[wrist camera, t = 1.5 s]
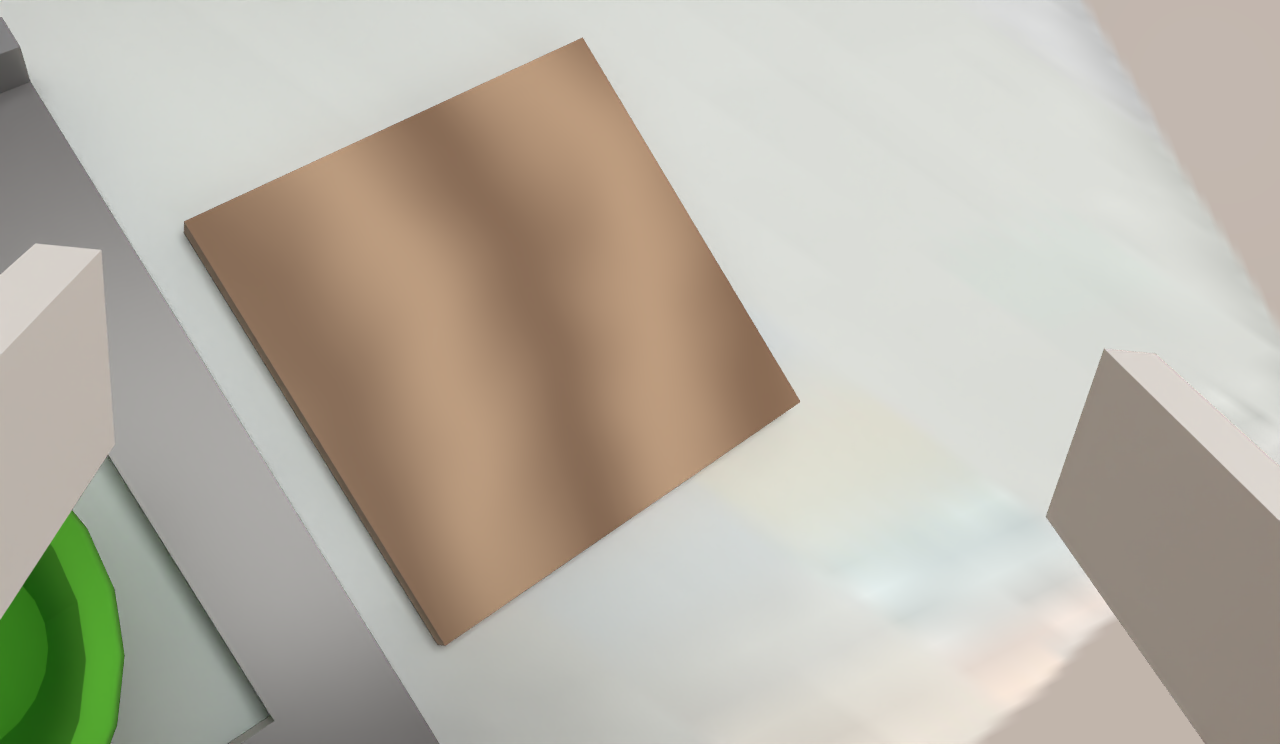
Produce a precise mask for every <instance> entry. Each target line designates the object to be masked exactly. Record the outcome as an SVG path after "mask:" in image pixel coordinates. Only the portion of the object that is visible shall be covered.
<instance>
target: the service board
mask: <svg viewBox="0 0 1280 744" xmlns="http://www.w3.org/2000/svg"><path fill="white" fill-rule="evenodd" d="M184 233H185V235H186V237H187V238H188V240H189V242H190V243H191V245H192V246H193V248H194V250H195V251H196V253H197V255H198V256H199V258H200V259H201V261H202V263H203V264H204V266H205V268H206V269H207V271H208V272H209V274H210V276H211V277H212V279H213V281H214V282H215V284H216V285H217V287H218V289H219V290H220V292H221V294H222V295H223V297H224V298H225V300H226V302H227V303H228V305H229V307H230V308H231V310H232V311H233V313H234V315H235V316H236V318H237V320H238V321H239V323H240V324H241V326H242V328H243V329H244V331H245V333H246V334H247V336H248V337H249V339H250V341H251V342H252V344H253V346H254V347H255V349H256V350H257V352H258V354H259V355H260V357H261V359H262V360H263V362H264V363H265V365H266V367H267V368H268V370H269V371H270V373H271V375H272V376H273V378H274V380H275V381H276V383H277V384H278V386H279V388H280V389H281V391H282V393H283V394H284V396H285V397H286V399H287V401H288V402H289V404H290V406H291V407H292V409H293V410H294V412H295V414H296V415H297V417H298V419H299V420H300V422H301V423H302V425H303V427H304V428H305V430H306V432H307V433H308V435H309V436H310V438H311V440H312V441H313V443H314V445H315V446H316V448H317V449H318V451H319V453H320V454H321V456H322V458H323V459H324V461H325V462H326V464H327V466H328V467H329V469H330V471H331V472H332V474H333V475H334V477H335V479H336V480H337V482H338V484H339V485H340V487H341V488H342V490H343V492H344V493H345V495H346V497H347V498H348V500H349V501H350V503H351V505H352V506H353V508H354V510H355V511H356V513H357V514H358V516H359V518H360V519H361V521H362V523H363V524H364V526H365V527H366V529H367V531H368V532H369V534H370V536H371V537H372V539H373V540H374V542H375V544H376V545H377V547H378V549H379V550H380V552H381V553H382V555H383V557H384V558H385V560H386V562H387V563H388V565H389V566H390V568H391V570H392V571H393V573H394V575H395V576H396V578H397V579H398V581H399V583H400V584H401V586H402V587H403V589H404V591H405V592H406V594H407V596H408V597H409V599H410V600H411V602H412V604H413V605H414V607H415V609H416V610H417V612H418V613H419V615H420V617H421V618H422V620H423V622H424V623H425V625H426V626H427V628H428V630H429V631H430V633H431V635H432V636H433V638H434V639H435V641H436V643H437V644H438V645H444V646H445V645H447V644H448V643H450V642H451V641H453V640H454V639H456V638H457V637H459V636H460V635H462V634H463V633H464V632H466V631H467V630H469V629H470V628H472V627H473V626H475V625H476V624H478V623H479V622H480V621H482V620H483V619H485V618H486V617H488V616H489V615H491V614H492V613H494V612H495V611H496V610H498V609H499V608H501V607H502V606H504V605H505V604H507V603H508V602H510V601H511V600H513V599H514V598H515V597H517V596H518V595H520V594H521V593H523V592H524V591H526V590H527V589H529V588H530V587H531V586H533V585H534V584H536V583H537V582H539V581H540V580H542V579H543V578H545V577H546V576H547V575H549V574H550V573H552V572H553V571H555V570H556V569H558V568H559V567H561V566H562V565H564V564H565V563H566V562H568V561H569V560H571V559H572V558H574V557H575V556H577V555H578V554H580V553H581V552H582V551H584V550H585V549H587V548H588V547H590V546H591V545H593V544H594V543H596V542H597V541H598V540H600V539H601V538H603V537H604V536H606V535H607V534H609V533H610V532H612V531H613V530H614V529H616V528H617V527H619V526H620V525H622V524H623V523H625V522H626V521H628V520H629V519H631V518H632V517H633V516H635V515H636V514H638V513H639V512H641V511H642V510H644V509H645V508H647V507H648V506H649V505H651V504H652V503H654V502H655V501H657V500H658V499H660V498H661V497H663V496H664V495H665V494H667V493H668V492H670V491H671V490H673V489H674V488H676V487H677V486H679V485H680V484H682V483H683V482H684V481H686V480H687V479H689V478H690V477H692V476H693V475H695V474H696V473H698V472H699V471H700V470H702V469H703V468H705V467H706V466H708V465H709V464H711V463H712V462H714V461H715V460H716V459H718V458H719V457H721V456H722V455H724V454H725V453H727V452H728V451H730V450H731V449H732V448H734V447H735V446H737V445H738V444H740V443H741V442H743V441H744V440H746V439H747V438H749V437H750V436H751V435H753V434H754V433H756V432H757V431H759V430H760V429H762V428H763V427H765V426H766V425H767V424H769V423H770V422H772V421H773V420H775V419H776V418H778V417H779V416H781V415H782V414H783V413H785V412H786V411H788V410H789V409H791V408H792V407H794V406H795V405H797V404H798V403H800V400H799V398H798V397H797V395H796V393H795V392H794V390H793V388H792V387H791V385H790V383H789V382H788V380H787V378H786V377H785V375H784V373H783V372H782V370H781V368H780V367H779V365H778V363H777V362H776V360H775V358H774V357H773V355H772V353H771V352H770V350H769V348H768V347H767V345H766V343H765V342H764V340H763V338H762V337H761V335H760V333H759V332H758V330H757V328H756V327H755V325H754V323H753V322H752V320H751V318H750V317H749V315H748V313H747V312H746V310H745V308H744V306H743V305H742V303H741V301H740V300H739V298H738V296H737V295H736V293H735V291H734V290H733V288H732V286H731V285H730V283H729V281H728V280H727V278H726V276H725V275H724V273H723V271H722V270H721V268H720V266H719V265H718V263H717V261H716V260H715V258H714V256H713V255H712V253H711V251H710V250H709V248H708V246H707V245H706V243H705V241H704V240H703V238H702V236H701V235H700V233H699V231H698V230H697V228H696V226H695V225H694V223H693V221H692V220H691V218H690V216H689V215H688V213H687V211H686V210H685V208H684V206H683V205H682V203H681V201H680V200H679V198H678V196H677V194H676V193H675V191H674V189H673V188H672V186H671V184H670V183H669V181H668V179H667V178H666V176H665V174H664V173H663V171H662V169H661V168H660V166H659V164H658V163H657V161H656V159H655V158H654V156H653V154H652V153H651V151H650V149H649V148H648V146H647V144H646V143H645V141H644V139H643V138H642V136H641V134H640V133H639V131H638V129H637V128H636V126H635V124H634V123H633V121H632V119H631V118H630V116H629V114H628V113H627V111H626V109H625V108H624V106H623V104H622V103H621V101H620V99H619V98H618V96H617V94H616V93H615V91H614V89H613V88H612V86H611V84H610V82H609V81H608V79H607V77H606V76H605V74H604V72H603V71H602V69H601V67H600V66H599V64H598V62H597V61H596V59H595V57H594V56H593V54H592V52H591V51H590V49H589V47H588V46H587V44H586V42H585V41H584V39H583V38H581V39H579V40H576V41H574V42H572V43H570V44H568V45H566V46H563V47H561V48H559V49H557V50H555V51H553V52H550V53H548V54H546V55H544V56H542V57H540V58H537V59H535V60H533V61H531V62H529V63H527V64H524V65H522V66H520V67H518V68H516V69H514V70H511V71H509V72H507V73H505V74H503V75H501V76H498V77H496V78H494V79H492V80H490V81H488V82H485V83H483V84H481V85H479V86H477V87H475V88H472V89H470V90H468V91H466V92H464V93H462V94H459V95H457V96H455V97H453V98H451V99H449V100H446V101H444V102H442V103H440V104H438V105H436V106H433V107H431V108H429V109H427V110H425V111H423V112H420V113H418V114H416V115H414V116H412V117H410V118H407V119H405V120H403V121H401V122H399V123H397V124H394V125H392V126H390V127H388V128H386V129H384V130H381V131H379V132H377V133H375V134H373V135H371V136H368V137H366V138H364V139H362V140H360V141H358V142H355V143H353V144H351V145H349V146H347V147H345V148H342V149H340V150H338V151H336V152H334V153H332V154H329V155H327V156H325V157H323V158H321V159H319V160H316V161H314V162H312V163H310V164H308V165H306V166H303V167H301V168H299V169H297V170H295V171H293V172H290V173H288V174H286V175H284V176H282V177H280V178H277V179H275V180H273V181H271V182H269V183H267V184H264V185H262V186H260V187H258V188H256V189H254V190H251V191H249V192H247V193H245V194H243V195H241V196H238V197H236V198H234V199H232V200H230V201H228V202H225V203H223V204H221V205H219V206H217V207H215V208H212V209H210V210H208V211H206V212H204V213H202V214H199V215H197V216H195V217H193V218H191V219H189V220H186V221H184Z"/></svg>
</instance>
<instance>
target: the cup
mask: <svg viewBox="0 0 1280 744" xmlns="http://www.w3.org/2000/svg"><path fill="white" fill-rule="evenodd" d="M124 656H125V655H124V649H123V642H122V635H121V629H120V622H119V616H118V609H117V603H116V596H115V590H114V587H113V585H112V583H111V581H110V578H109V576H108V574H107V572H106V569H105V567H104V565H103V563H102V560H101V558H100V556H99V554H98V552H97V549H96V547H95V545H94V543H93V540H92V538H91V536H90V534H89V531H88V529H87V528H86V527H85V526H84V524H83V523H82V522H81V521H80V519H79V518H78V517H77V516H76V515H75V513H74V512H73V511H71V512H70V514H69V515H68V517H67V518H66V520H65V521H64V523H63V524H62V526H61V527H60V529H59V531H58V532H57V534H56V535H55V537H54V538H53V540H52V541H51V543H50V544H49V546H48V547H47V549H46V550H45V552H44V553H43V555H42V557H41V558H40V560H39V561H38V563H37V564H36V566H35V567H34V569H33V570H32V572H31V573H30V575H29V576H28V578H27V579H26V581H25V583H24V584H23V586H22V587H21V589H20V590H19V592H18V593H17V595H16V596H15V598H14V599H13V601H12V602H11V604H10V606H9V607H8V609H7V610H6V612H5V613H4V615H3V616H2V618H1V619H0V744H110V743H111V740H112V737H113V735H114V732H115V729H116V726H117V721H118V712H119V703H120V693H121V684H122V675H123V665H124Z"/></svg>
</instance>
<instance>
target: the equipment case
mask: <svg viewBox="0 0 1280 744" xmlns="http://www.w3.org/2000/svg"><path fill="white" fill-rule="evenodd" d="M35 243H37V244H47V245H57V246H67V247H77V248H87V249H98V250H101V251H102V265H103V280H104V295H105V309H106V324H107V338H108V353H109V368H110V382H111V397H112V411H113V426H114V441H115V445H114V446H113V448H112V449H111V451H110V452H109V454H108V456H109V458H110V459H111V461H112V462H113V464H114V466H115V467H116V469H117V470H118V472H119V474H120V475H121V477H122V478H123V480H124V482H125V483H126V485H127V486H128V488H129V490H130V491H131V493H132V494H133V496H134V498H135V499H136V501H137V502H138V504H139V506H140V507H141V509H142V510H143V512H144V514H145V515H146V517H147V519H148V520H149V522H150V523H151V525H152V527H153V528H154V530H155V531H156V533H157V535H158V536H159V538H160V539H161V541H162V543H163V544H164V546H165V547H166V549H167V551H168V552H169V554H170V555H171V557H172V559H173V560H174V562H175V563H176V565H177V567H178V568H179V570H180V571H181V573H182V575H183V576H184V578H185V580H186V581H187V583H188V584H189V586H190V588H191V589H192V591H193V592H194V594H195V596H196V597H197V599H198V600H199V602H200V604H201V605H202V607H203V608H204V610H205V612H206V613H207V615H208V616H209V618H210V620H211V621H212V623H213V624H214V626H215V628H216V629H217V631H218V632H219V634H220V636H221V637H222V639H223V641H224V642H225V644H226V645H227V647H228V649H229V650H230V652H231V653H232V655H233V657H234V658H235V660H236V661H237V663H238V665H239V666H240V668H241V669H242V671H243V673H244V674H245V676H246V677H247V679H248V681H249V682H250V684H251V685H252V687H253V689H254V690H255V692H256V693H257V695H258V697H259V698H260V700H261V701H262V703H263V705H264V706H265V708H266V710H267V711H268V713H269V714H270V716H269V717H267V718H266V719H264V720H263V721H261V722H260V723H258V724H257V725H255V726H254V727H252V728H251V729H249V730H248V731H246V732H245V733H243V734H242V735H240V736H239V737H237V738H236V739H234V740H233V741H231V742H230V743H228V744H439V742H438V741H437V739H436V738H435V736H434V734H433V733H432V731H431V729H430V728H429V726H428V725H427V723H426V721H425V720H424V718H423V717H422V715H421V713H420V712H419V710H418V708H417V707H416V705H415V704H414V702H413V700H412V699H411V697H410V695H409V694H408V692H407V691H406V689H405V687H404V686H403V684H402V683H401V681H400V679H399V678H398V676H397V674H396V673H395V671H394V670H393V668H392V666H391V665H390V663H389V661H388V660H387V658H386V657H385V655H384V653H383V652H382V650H381V649H380V647H379V645H378V644H377V642H376V640H375V639H374V637H373V636H372V634H371V632H370V631H369V629H368V627H367V626H366V624H365V623H364V621H363V619H362V618H361V616H360V615H359V613H358V611H357V610H356V608H355V606H354V605H353V603H352V602H351V600H350V598H349V597H348V595H347V593H346V592H345V590H344V589H343V587H342V585H341V584H340V582H339V581H338V579H337V577H336V576H335V574H334V572H333V571H332V569H331V568H330V566H329V564H328V563H327V561H326V559H325V558H324V556H323V555H322V553H321V551H320V550H319V548H318V547H317V545H316V543H315V542H314V540H313V538H312V537H311V535H310V534H309V532H308V530H307V529H306V527H305V526H304V524H303V522H302V521H301V519H300V517H299V516H298V514H297V513H296V511H295V509H294V508H293V506H292V504H291V503H290V501H289V500H288V498H287V496H286V495H285V493H284V492H283V490H282V488H281V487H280V485H279V483H278V482H277V480H276V479H275V477H274V475H273V474H272V472H271V470H270V469H269V467H268V466H267V464H266V462H265V461H264V459H263V458H262V456H261V454H260V453H259V451H258V449H257V448H256V446H255V445H254V443H253V441H252V440H251V438H250V436H249V435H248V433H247V432H246V430H245V428H244V427H243V425H242V424H241V422H240V420H239V419H238V417H237V415H236V414H235V412H234V411H233V409H232V407H231V406H230V404H229V402H228V401H227V399H226V398H225V396H224V394H223V393H222V391H221V390H220V388H219V386H218V385H217V383H216V381H215V380H214V378H213V377H212V375H211V373H210V372H209V370H208V368H207V367H206V365H205V364H204V362H203V360H202V359H201V357H200V356H199V354H198V352H197V351H196V349H195V347H194V346H193V344H192V343H191V341H190V339H189V338H188V336H187V335H186V333H185V331H184V330H183V328H182V326H181V325H180V323H179V322H178V320H177V318H176V317H175V315H174V313H173V312H172V310H171V309H170V307H169V305H168V304H167V302H166V301H165V299H164V297H163V296H162V294H161V292H160V291H159V289H158V288H157V286H156V284H155V283H154V281H153V279H152V278H151V276H150V275H149V273H148V271H147V270H146V268H145V267H144V265H143V263H142V262H141V260H140V258H139V257H138V255H137V254H136V252H135V250H134V249H133V247H132V245H131V244H130V242H129V241H128V239H127V237H126V236H125V234H124V233H123V231H122V229H121V228H120V226H119V224H118V223H117V221H116V220H115V218H114V216H113V215H112V213H111V211H110V210H109V208H108V207H107V205H106V203H105V202H104V200H103V199H102V197H101V195H100V194H99V192H98V190H97V189H96V187H95V186H94V184H93V182H92V181H91V179H90V177H89V176H88V174H87V173H86V171H85V169H84V168H83V166H82V165H81V163H80V161H79V160H78V158H77V156H76V155H75V153H74V152H73V150H72V148H71V147H70V145H69V144H68V142H67V140H66V139H65V137H64V135H63V134H62V132H61V131H60V129H59V127H58V126H57V124H56V122H55V121H54V119H53V118H52V116H51V114H50V113H49V111H48V110H47V108H46V106H45V105H44V103H43V101H42V100H41V98H40V97H39V95H38V93H37V92H36V90H35V88H34V87H33V85H32V84H31V82H30V79H29V75H28V72H27V69H26V65H25V62H24V58H23V55H22V52H21V48H20V46H19V44H18V43H17V41H16V39H15V38H14V36H13V34H12V33H11V31H10V30H9V28H8V26H7V25H6V23H5V21H4V20H3V18H2V17H0V274H2V273H3V272H4V271H5V270H6V269H7V268H8V267H9V266H11V265H12V264H13V263H14V262H15V261H16V260H17V259H18V258H20V257H21V256H22V255H23V254H24V253H25V252H26V251H27V250H29V249H30V248H31V247H32V246H33V245H34V244H35Z"/></svg>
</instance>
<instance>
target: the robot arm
mask: <svg viewBox="0 0 1280 744" xmlns="http://www.w3.org/2000/svg"><path fill="white" fill-rule="evenodd" d="M114 445H115V441H114V426H113V411H112V397H111V382H110V368H109V353H108V338H107V324H106V309H105V295H104V280H103V265H102V251H101V250H98V249H87V248H77V247H67V246H57V245H47V244H37V243H35V244H34V245H33V246H32V247H31V248H30V249H29V250H27V251H26V252H25V253H24V254H23V255H22V256H21V257H20V258H18V259H17V260H16V261H15V262H14V263H13V264H12V265H11V266H9V267H8V268H7V269H6V270H5V271H4V272H3V273H2V274H0V619H1V618H2V616H3V615H4V613H5V612H6V610H7V609H8V607H9V606H10V604H11V602H12V601H13V599H14V598H15V596H16V595H17V593H18V592H19V590H20V589H21V587H22V586H23V584H24V583H25V581H26V579H27V578H28V576H29V575H30V573H31V572H32V570H33V569H34V567H35V566H36V564H37V563H38V561H39V560H40V558H41V557H42V555H43V553H44V552H45V550H46V549H47V547H48V546H49V544H50V543H51V541H52V540H53V538H54V537H55V535H56V534H57V532H58V531H59V529H60V527H61V526H62V524H63V523H64V521H65V520H66V518H67V517H68V515H69V514H70V512H71V511H72V509H73V508H74V506H75V504H76V503H77V501H78V500H79V498H80V497H81V495H82V494H83V492H84V491H85V489H86V488H87V486H88V485H89V483H90V482H91V480H92V478H93V477H94V475H95V474H96V472H97V471H98V469H99V468H100V466H101V465H102V463H103V462H104V460H105V459H106V457H107V455H108V454H109V452H110V451H111V449H112V448H113V446H114ZM1046 518H1047V519H1048V520H1049V522H1050V523H1051V525H1052V526H1053V528H1054V529H1055V530H1056V532H1057V533H1058V535H1059V536H1060V538H1061V539H1062V540H1063V542H1064V543H1065V545H1066V546H1067V548H1068V549H1069V550H1070V552H1071V553H1072V555H1073V556H1074V558H1075V559H1076V560H1077V562H1078V563H1079V565H1080V566H1081V568H1082V569H1083V570H1084V572H1085V573H1086V575H1087V576H1088V577H1089V579H1090V580H1091V582H1092V583H1093V585H1094V586H1095V587H1096V589H1097V590H1098V592H1099V593H1100V595H1101V596H1102V597H1103V599H1104V600H1105V602H1106V603H1107V605H1108V606H1109V607H1110V609H1111V610H1112V612H1113V613H1114V615H1115V616H1116V617H1117V619H1118V620H1119V622H1120V623H1121V625H1122V626H1123V627H1124V629H1125V630H1126V632H1127V633H1128V635H1129V636H1130V637H1131V639H1132V640H1133V642H1134V643H1135V644H1136V646H1137V647H1138V649H1139V650H1140V651H1141V653H1142V655H1143V656H1144V657H1145V659H1146V660H1147V662H1148V663H1149V665H1150V666H1151V667H1152V669H1153V670H1154V672H1155V673H1156V675H1157V676H1158V677H1159V679H1160V680H1161V682H1162V683H1163V684H1164V686H1165V687H1166V689H1167V690H1168V692H1169V693H1170V694H1171V696H1172V697H1173V699H1174V700H1175V702H1176V703H1177V705H1178V706H1179V707H1180V709H1181V710H1182V712H1183V713H1184V714H1185V716H1186V717H1187V719H1188V720H1189V722H1190V723H1191V724H1192V726H1193V727H1194V729H1195V730H1196V732H1197V733H1198V734H1199V736H1200V737H1201V739H1202V740H1203V742H1204V743H1205V744H1280V466H1279V465H1278V464H1277V463H1276V462H1275V461H1274V460H1273V459H1271V458H1270V457H1269V456H1268V455H1267V454H1266V453H1265V452H1264V451H1263V450H1262V449H1260V448H1259V447H1258V446H1257V445H1256V444H1255V443H1254V442H1253V441H1252V440H1251V439H1249V438H1248V437H1247V436H1246V435H1245V434H1244V433H1243V432H1242V431H1241V430H1240V429H1238V428H1237V427H1236V426H1235V425H1234V424H1233V423H1232V422H1231V421H1230V420H1229V419H1227V418H1226V417H1225V416H1224V415H1223V414H1222V413H1221V412H1220V411H1219V410H1217V409H1216V408H1215V407H1214V406H1213V405H1212V404H1211V403H1210V402H1209V401H1208V400H1206V399H1205V398H1204V397H1203V396H1202V395H1201V394H1200V393H1199V392H1198V391H1197V390H1195V389H1194V388H1193V387H1192V386H1191V385H1190V384H1189V383H1188V382H1187V381H1186V380H1184V379H1183V378H1182V377H1181V376H1180V375H1179V374H1178V373H1177V372H1176V371H1175V370H1173V369H1172V368H1171V367H1170V366H1169V365H1168V364H1167V363H1166V362H1165V361H1164V360H1162V359H1161V358H1160V357H1159V356H1158V355H1157V354H1155V353H1144V352H1134V351H1124V350H1114V349H1104V350H1103V353H1102V356H1101V359H1100V362H1099V365H1098V368H1097V370H1096V373H1095V376H1094V379H1093V382H1092V385H1091V388H1090V391H1089V394H1088V396H1087V399H1086V402H1085V405H1084V408H1083V411H1082V414H1081V417H1080V419H1079V422H1078V425H1077V428H1076V431H1075V434H1074V437H1073V440H1072V443H1071V445H1070V448H1069V451H1068V454H1067V457H1066V460H1065V463H1064V466H1063V469H1062V471H1061V474H1060V477H1059V480H1058V483H1057V486H1056V489H1055V492H1054V494H1053V497H1052V500H1051V503H1050V506H1049V509H1048V512H1047V515H1046Z"/></svg>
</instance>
